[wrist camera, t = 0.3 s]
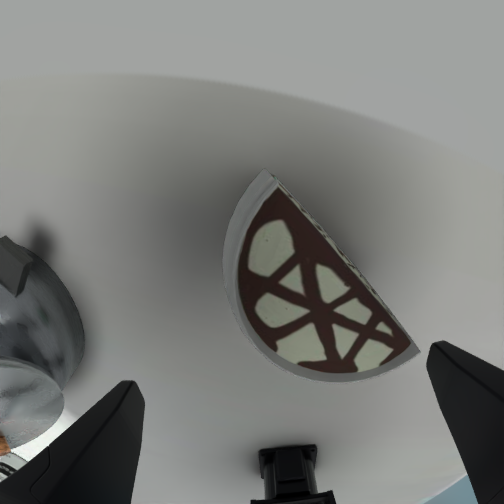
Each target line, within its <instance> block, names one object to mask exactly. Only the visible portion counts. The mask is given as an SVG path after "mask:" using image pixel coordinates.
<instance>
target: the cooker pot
mask: <svg viewBox="0 0 504 504" xmlns="http://www.w3.org/2000/svg"><path fill="white" fill-rule="evenodd" d="M84 341H85V339H84V330H83V326H82V322H81V319H80V316H79V313H78V310H77V308H76V306H75V303H74V301H73V299H72V298H71V296H70V294H69V292H68V291H67V289H66V287H65V286H64V284H63V283H62V281H61V280H60V279H59V278H58V276H57V275H56V274H55V273H54V272H53V270H52V269H51V268H50V267H49V266H48V265H47V264H46V263H45V262H44V261H42V260H41V259H40V258H39V257H38V256H36V255H35V254H34V253H32V252H31V251H29V250H27V249H25V248H24V247H21V246H19V245H16V244H15V243H14V242H13V241H12V240H10V239H9V238H8V237H7V236H4V237H2V238H0V355H4V356H9V357H15V358H19V359H22V360H26V361H29V362H31V363H33V364H36V365H38V366H40V367H42V368H43V369H45V370H46V371H48V372H49V373H50V374H51V375H52V376H53V377H54V378H55V380H56V382H57V384H58V386H59V388H60V390H61V391H62V390H63V388H64V387H65V385H66V383H67V382H68V380H69V379H70V377H71V375H72V374H73V372H74V371H75V369H76V368H77V366H78V364H79V363H80V361H81V359H82V356H83V352H84Z"/></svg>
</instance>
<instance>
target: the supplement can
mask: <svg viewBox="0 0 504 504" xmlns="http://www.w3.org/2000/svg"><path fill="white" fill-rule="evenodd" d="M26 463H28V462H26V461H25V460H23V459H22V458H20V457H19V456H17V455H15V454H12V453H9V454H7V455H4V456H2V458H1V460H0V482H1V481H2V480H4V479H5V478H7V477H8V476H10V475H11V474H12V473H14V472H15V471H17V470H18V469H20V468H21V467H22V466H24V465H25V464H26Z"/></svg>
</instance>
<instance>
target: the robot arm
mask: <svg viewBox="0 0 504 504" xmlns="http://www.w3.org/2000/svg"><path fill="white" fill-rule="evenodd" d="M426 367H427V371H428V374H429V377H430V380H431V383H432V386H433V389H434V392H435V395H436V398H437V401H438V404H439V406H440V409H441V411H442V414H443V416H444V418H445V420H446V423H447V425H448V427H449V429H450V432H451V434H452V436H453V439H454V441H455V444H456V446H457V448H458V451H459V453H460V456H461V458H462V461H463V463H464V466H465V469H466V471H467V474H468V476H469V479H470V482H471V484H472V487H473V490H474V493H475V496H476V498H477V502H478V504H504V371H503V370H502V369H500V368H498V367H496V366H494V365H492V364H490V363H488V362H486V361H484V360H482V359H480V358H478V357H476V356H474V355H472V354H470V353H468V352H466V351H464V350H462V349H460V348H458V347H456V346H454V345H452V344H450V343H448V342H446V341H444V340H442V341H438V342H434V343H432V345H431V347H430V351H429V355H428V359H427V363H426ZM144 410H145V401H144V398H143V396H142V394H141V392H140V389H139V387H138V385H137V383H136V382H135V381H132V380H124V381H121V382H120V383H119V384H117V385H116V386H115V387H114V388H113V389H112V390H111V391H110V392H108V393H107V394H106V395H105V396H104V397H103V398H102V399H101V400H99V401H98V402H97V403H96V404H95V405H94V406H93V407H92V408H90V409H89V410H88V411H87V412H86V413H85V414H84V415H82V416H81V417H80V418H79V419H78V420H77V421H76V422H74V423H73V424H72V425H71V426H70V427H69V428H68V429H66V430H65V431H64V432H63V433H62V434H61V435H60V436H59V437H57V438H56V439H55V440H54V441H53V442H52V443H50V444H49V446H47V447H46V448H45V449H44V450H42V451H41V452H40V453H39V454H38V455H36V456H35V457H34V458H33V459H32V460H30V461H29V462H28V463H26V464H25V465H24V466H22V467H21V468H20V469H18V470H17V471H15V472H14V473H12V474H11V475H10V476H8V477H7V478H5V479H4V480H2V481H1V482H0V504H131V498H132V493H133V487H134V482H135V476H136V471H137V466H138V460H139V455H140V450H141V443H142V431H143V420H144ZM316 456H317V446H315V445H312V446H304V447H294V448H284V449H271V450H261V451H259V461H260V471H261V478H262V479H264V488H265V500H251V503H250V504H336V501H335V498H334V495H333V491H332V490H330V491H327V492H323V493H318V491H317V485H316V480H315V474H314V469H315V462H316Z"/></svg>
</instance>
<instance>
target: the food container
mask: <svg viewBox="0 0 504 504" xmlns="http://www.w3.org/2000/svg"><path fill="white" fill-rule="evenodd" d="M222 267H223V278H224V285H225V289H226V292H227V296H228V300H229V303H230V306H231V308H232V311H233V314H234V316H235V318H236V320H237V322H238V324H239V326H240V329H241V330H242V332H243V333H244V335H245V336H246V337H247V339H248V340H249V342H250V343H251V344H252V345H253V346H254V347H255V348H256V349H257V350H258V351H259V352H260V353H261V354H262V355H263V356H264V357H265V358H266V359H267V360H268V361H269V362H271V363H272V364H274V365H275V366H277V367H278V368H280V369H281V370H283V371H285V372H287V373H289V374H292V375H294V376H296V377H298V378H302V379H306V380H309V381H313V382H320V383H328V384H346V383H353V382H360V381H365V380H368V379H372V378H375V377H379V376H381V375H384V374H386V373H388V372H391V371H393V370H395V369H397V368H399V367H400V366H402V365H404V364H405V363H407V362H409V361H410V360H412V359H413V358H414V357H416V356H417V355H418V354H420V353H421V351H420V350H419V349H418V347H417V346H416V344H415V343H414V341H413V340H412V339H411V337H410V336H409V335H408V333H407V332H406V331H405V329H404V328H403V327H402V325H401V324H400V323H399V321H398V320H397V319H396V317H395V316H394V315H393V313H392V312H391V311H390V309H389V308H388V307H387V306H386V304H385V303H384V302H383V300H382V299H381V298H380V296H379V295H378V294H377V293H376V291H375V290H374V289H373V288H372V286H371V285H370V284H369V282H368V281H367V280H366V279H365V277H364V276H363V275H362V274H361V272H360V271H359V270H358V269H357V268H356V266H355V265H354V264H353V263H352V262H351V260H350V259H349V258H348V257H347V256H346V254H345V253H344V252H343V251H342V250H341V249H340V247H339V246H338V245H337V244H336V243H335V242H334V241H333V239H332V238H331V237H330V236H329V235H328V234H327V233H326V231H325V230H324V229H323V228H322V227H321V226H320V225H319V223H318V222H317V221H316V220H315V219H314V218H313V217H312V216H311V215H310V213H309V212H308V211H307V210H306V209H305V208H304V207H303V206H302V205H301V203H300V202H299V201H298V200H297V199H296V198H295V197H294V196H293V195H292V194H291V193H290V192H289V190H288V189H287V188H286V187H285V186H284V185H283V184H282V183H281V182H280V181H279V180H278V179H277V178H276V177H275V176H274V175H273V176H272V175H271V174H270V173H269V172H268V171H267V170H266V169H265V168H264V169H263V170H262V171H261V172H260V173H259V175H258V176H257V177H256V178H255V179H254V180H253V181H252V182H251V184H250V185H249V186H248V188H247V190H246V191H245V193H244V194H243V196H242V197H241V199H240V200H239V202H238V204H237V206H236V208H235V210H234V213H233V215H232V217H231V220H230V222H229V225H228V229H227V233H226V237H225V241H224V247H223V260H222Z"/></svg>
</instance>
